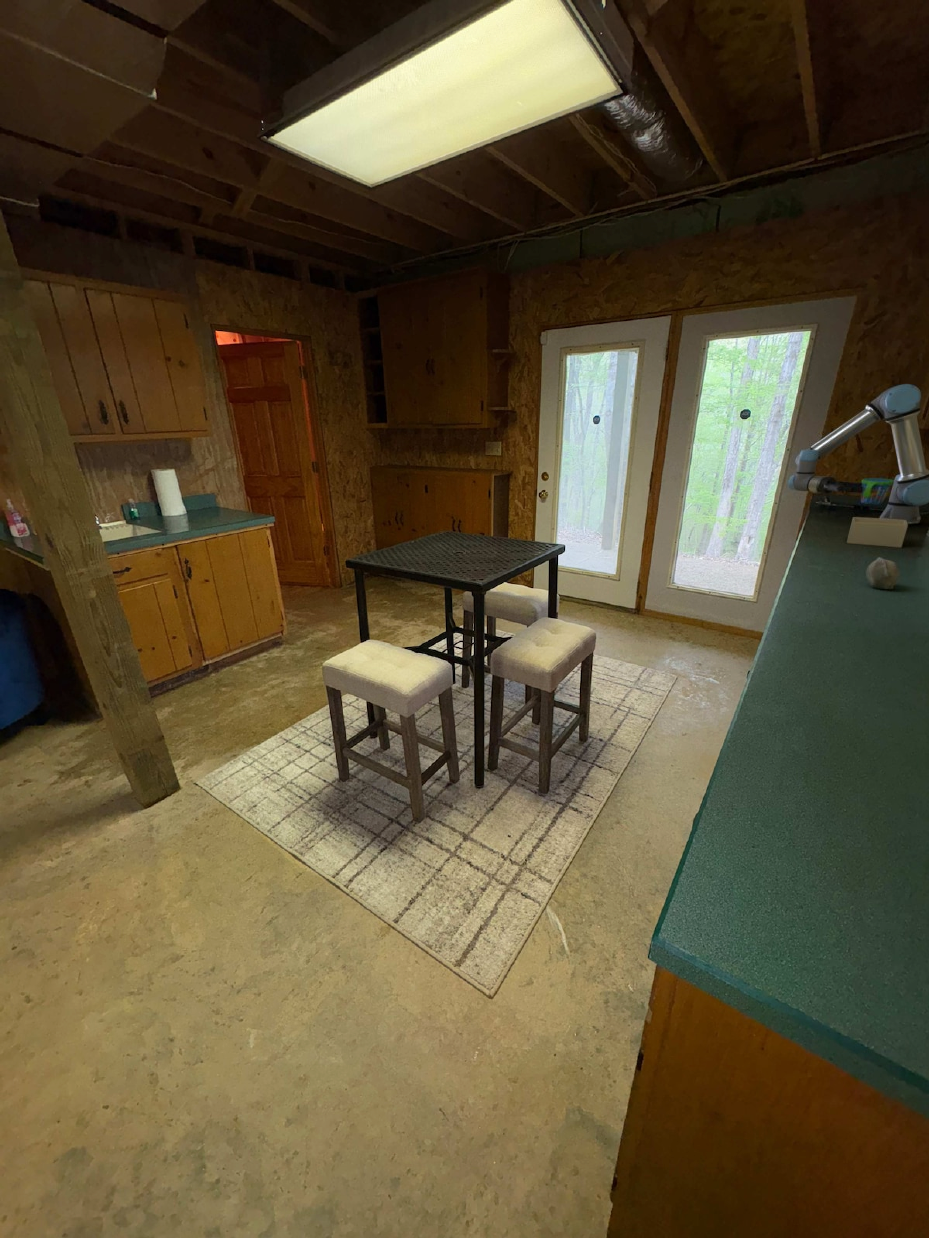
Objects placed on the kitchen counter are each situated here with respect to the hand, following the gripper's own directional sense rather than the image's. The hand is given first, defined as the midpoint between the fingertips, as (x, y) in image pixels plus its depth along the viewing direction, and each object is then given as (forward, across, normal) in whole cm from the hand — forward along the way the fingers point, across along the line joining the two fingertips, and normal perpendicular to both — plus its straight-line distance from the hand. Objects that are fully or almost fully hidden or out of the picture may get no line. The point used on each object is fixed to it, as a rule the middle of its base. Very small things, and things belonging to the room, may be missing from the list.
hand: (872, 488), depth 213 cm
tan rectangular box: (+13, +13, -20) cm, 27 cm away
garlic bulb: (+51, +74, -20) cm, 92 cm away
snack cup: (+2, +1, -6) cm, 7 cm away
